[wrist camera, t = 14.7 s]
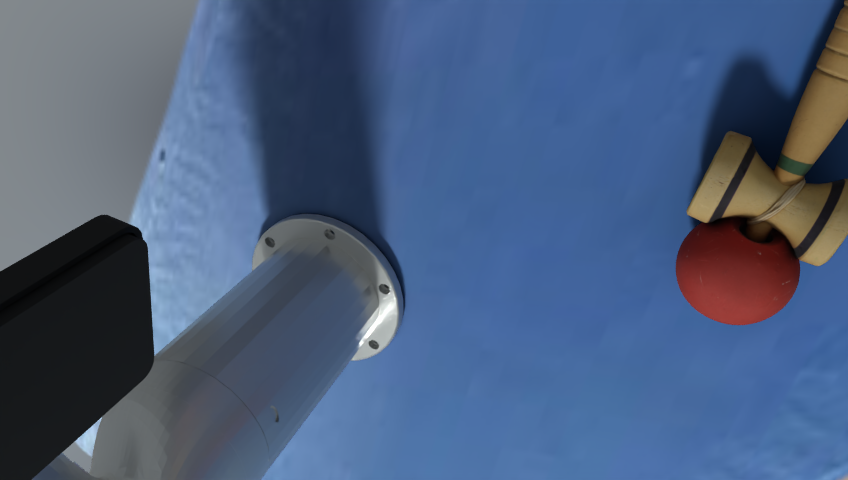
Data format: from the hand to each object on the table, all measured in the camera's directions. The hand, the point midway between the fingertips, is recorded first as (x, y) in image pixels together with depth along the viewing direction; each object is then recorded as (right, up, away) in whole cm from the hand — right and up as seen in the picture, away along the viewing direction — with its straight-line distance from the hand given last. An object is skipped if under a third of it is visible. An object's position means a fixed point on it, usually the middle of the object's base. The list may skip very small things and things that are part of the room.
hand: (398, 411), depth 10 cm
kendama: (+19, +8, +25) cm, 32 cm away
